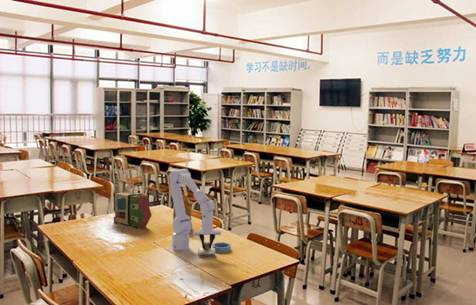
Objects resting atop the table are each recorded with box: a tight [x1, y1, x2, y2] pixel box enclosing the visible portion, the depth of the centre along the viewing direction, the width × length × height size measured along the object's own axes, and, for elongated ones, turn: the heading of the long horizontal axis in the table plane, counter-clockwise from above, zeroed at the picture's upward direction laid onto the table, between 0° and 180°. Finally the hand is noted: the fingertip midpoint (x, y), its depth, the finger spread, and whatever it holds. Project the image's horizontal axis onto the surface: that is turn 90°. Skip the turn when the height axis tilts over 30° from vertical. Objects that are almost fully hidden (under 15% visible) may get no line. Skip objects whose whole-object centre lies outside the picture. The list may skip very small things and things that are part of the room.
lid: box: [197, 241, 216, 254], centre depth 231 cm, size 9×9×4 cm
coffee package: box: [172, 194, 192, 226], centre depth 283 cm, size 10×12×22 cm
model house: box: [113, 191, 153, 230], centre depth 283 cm, size 21×9×30 cm
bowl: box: [211, 242, 232, 254], centre depth 240 cm, size 10×10×3 cm
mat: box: [197, 251, 217, 259], centre depth 231 cm, size 9×9×1 cm
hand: (206, 248), depth 231 cm, fingers closed on lid, 3 cm apart
